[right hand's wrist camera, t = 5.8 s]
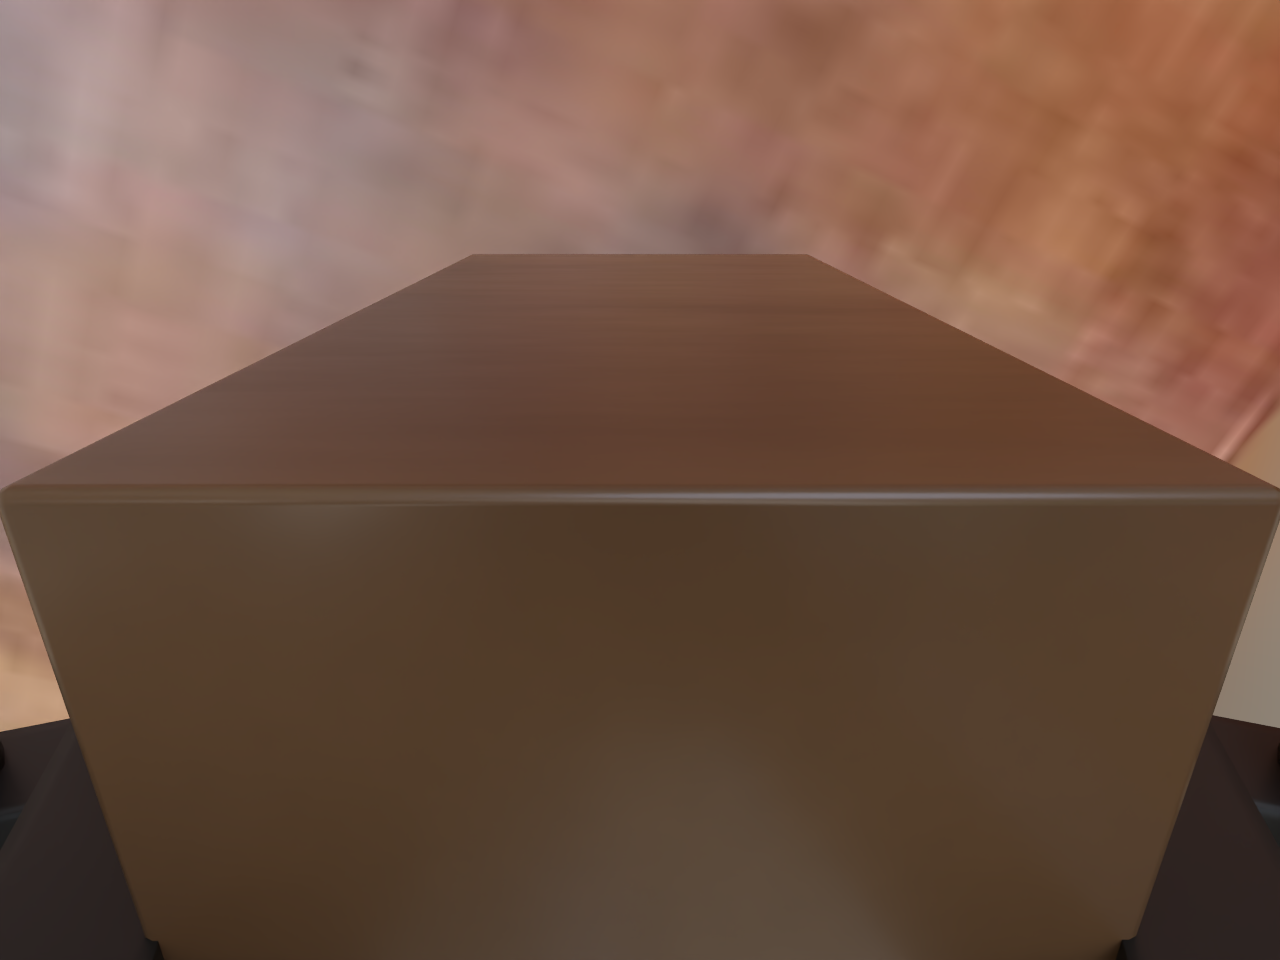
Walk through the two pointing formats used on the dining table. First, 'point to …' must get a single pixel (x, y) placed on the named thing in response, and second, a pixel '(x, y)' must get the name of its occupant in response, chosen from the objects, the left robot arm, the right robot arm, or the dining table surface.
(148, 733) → the box
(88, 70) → the dining table surface
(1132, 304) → the dining table surface
